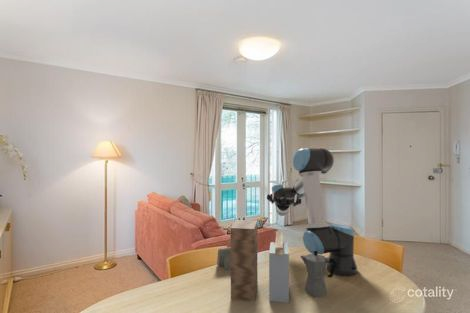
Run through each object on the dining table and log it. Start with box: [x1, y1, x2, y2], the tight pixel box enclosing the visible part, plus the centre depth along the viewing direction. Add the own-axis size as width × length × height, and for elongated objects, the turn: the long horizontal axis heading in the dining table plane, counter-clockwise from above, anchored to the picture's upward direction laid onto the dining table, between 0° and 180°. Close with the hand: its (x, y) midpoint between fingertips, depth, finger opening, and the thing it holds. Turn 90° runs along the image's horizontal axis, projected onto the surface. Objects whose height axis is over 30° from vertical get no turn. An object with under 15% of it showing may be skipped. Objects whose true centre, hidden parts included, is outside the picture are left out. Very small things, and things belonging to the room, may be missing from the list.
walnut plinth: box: [230, 219, 259, 302], centre depth 122 cm, size 10×14×30 cm
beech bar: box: [275, 230, 284, 255], centre depth 124 cm, size 3×24×3 cm, turn 170°
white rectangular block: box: [268, 241, 290, 303], centre depth 120 cm, size 8×14×20 cm, turn 170°
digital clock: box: [216, 246, 231, 270], centre depth 150 cm, size 16×9×11 cm, turn 93°
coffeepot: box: [300, 251, 337, 298], centre depth 121 cm, size 15×9×18 cm, turn 69°
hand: (284, 195), depth 145 cm, fingers open, 11 cm apart
